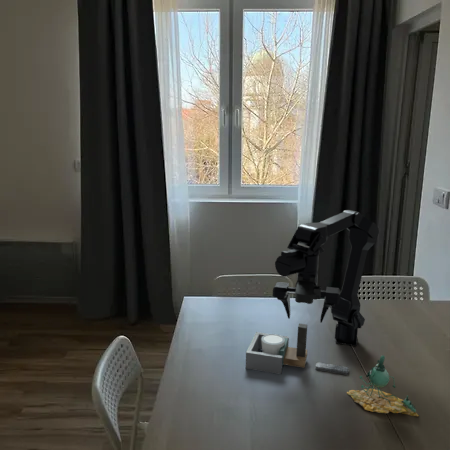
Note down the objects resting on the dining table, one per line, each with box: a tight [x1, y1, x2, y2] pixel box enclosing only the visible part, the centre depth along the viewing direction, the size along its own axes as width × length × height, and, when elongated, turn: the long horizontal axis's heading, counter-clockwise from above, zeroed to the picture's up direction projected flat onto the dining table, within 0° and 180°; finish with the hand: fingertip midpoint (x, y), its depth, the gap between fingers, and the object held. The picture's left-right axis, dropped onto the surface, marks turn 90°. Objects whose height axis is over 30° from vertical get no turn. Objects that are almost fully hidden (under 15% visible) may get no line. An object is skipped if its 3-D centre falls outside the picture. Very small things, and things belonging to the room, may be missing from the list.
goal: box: [245, 331, 290, 375], centre depth 137 cm, size 10×13×5 cm
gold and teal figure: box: [346, 354, 420, 417], centre depth 115 cm, size 10×18×15 cm, turn 48°
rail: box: [315, 361, 349, 376], centre depth 132 cm, size 9×2×1 cm, turn 74°
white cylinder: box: [261, 333, 285, 355], centre depth 136 cm, size 7×7×7 cm
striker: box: [279, 323, 308, 369], centre depth 134 cm, size 7×8×11 cm
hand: (304, 320), depth 135 cm, fingers open, 9 cm apart
